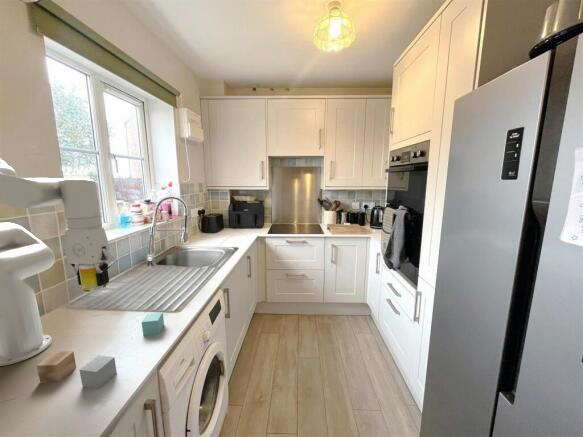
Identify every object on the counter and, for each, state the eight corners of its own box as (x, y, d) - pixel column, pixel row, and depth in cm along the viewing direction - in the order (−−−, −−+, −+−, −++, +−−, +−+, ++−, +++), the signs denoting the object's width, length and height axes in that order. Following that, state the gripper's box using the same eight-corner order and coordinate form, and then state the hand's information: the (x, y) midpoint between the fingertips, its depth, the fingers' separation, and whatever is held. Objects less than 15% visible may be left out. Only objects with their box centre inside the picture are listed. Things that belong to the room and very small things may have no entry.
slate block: (82, 387, 61) (79, 369, 60) (101, 371, 66) (98, 355, 65) (99, 389, 60) (96, 371, 59) (116, 373, 65) (114, 357, 64)
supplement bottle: (108, 289, 71) (104, 256, 69) (84, 296, 67) (78, 261, 65) (105, 283, 75) (100, 252, 73) (81, 290, 71) (76, 256, 69)
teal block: (143, 335, 81) (141, 322, 80) (149, 326, 85) (147, 313, 85) (159, 333, 82) (157, 320, 81) (164, 325, 86) (162, 312, 86)
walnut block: (40, 382, 62) (36, 365, 62) (58, 367, 67) (55, 351, 67) (59, 382, 62) (56, 365, 62) (76, 367, 67) (73, 351, 67)
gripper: (44, 225, 65) (55, 287, 68) (98, 226, 62) (108, 291, 65) (72, 220, 72) (82, 277, 75) (122, 221, 70) (130, 280, 73)
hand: (94, 283), depth 70 cm, fingers closed on supplement bottle, 5 cm apart
